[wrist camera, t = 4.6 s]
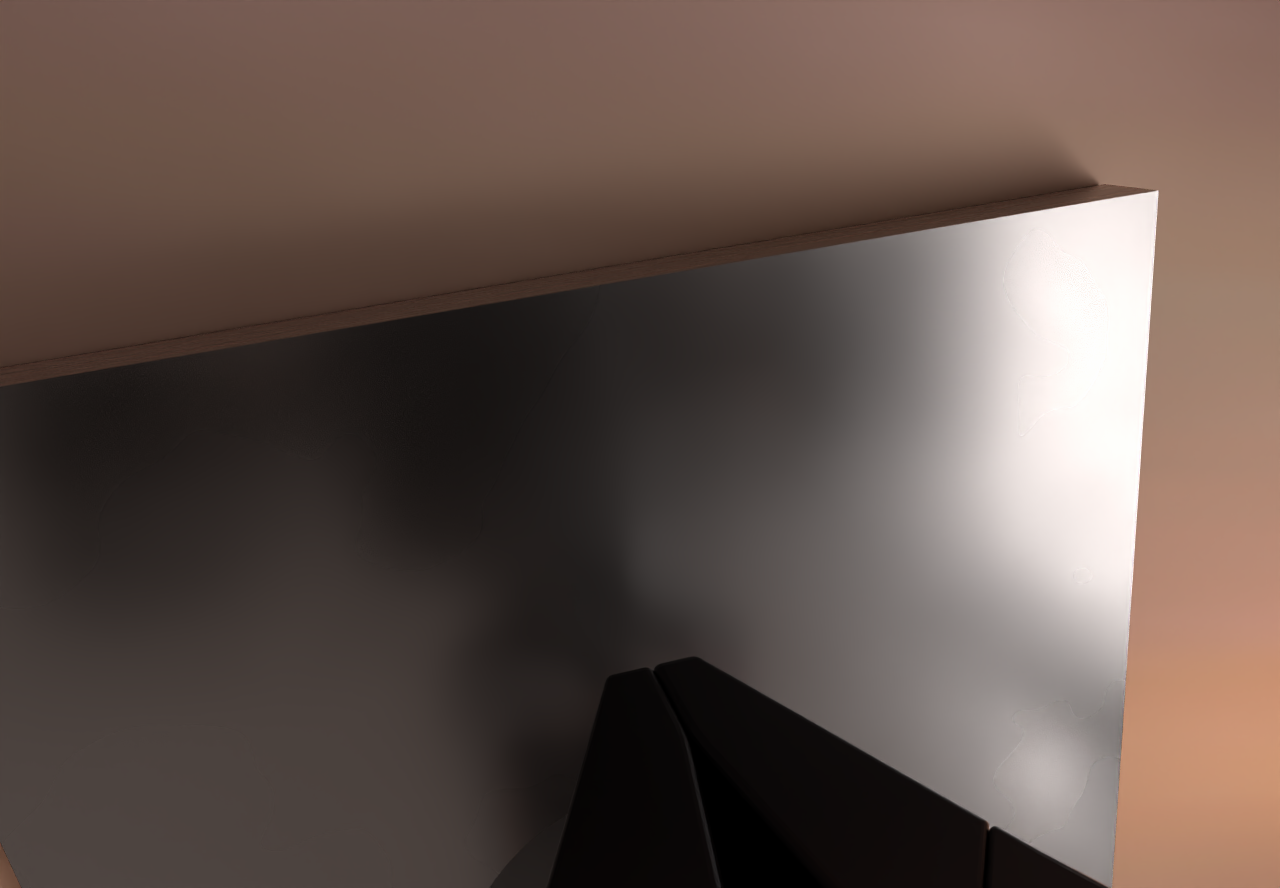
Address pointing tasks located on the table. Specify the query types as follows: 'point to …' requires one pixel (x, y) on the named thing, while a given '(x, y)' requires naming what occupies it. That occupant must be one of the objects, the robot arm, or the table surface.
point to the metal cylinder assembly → (577, 547)
